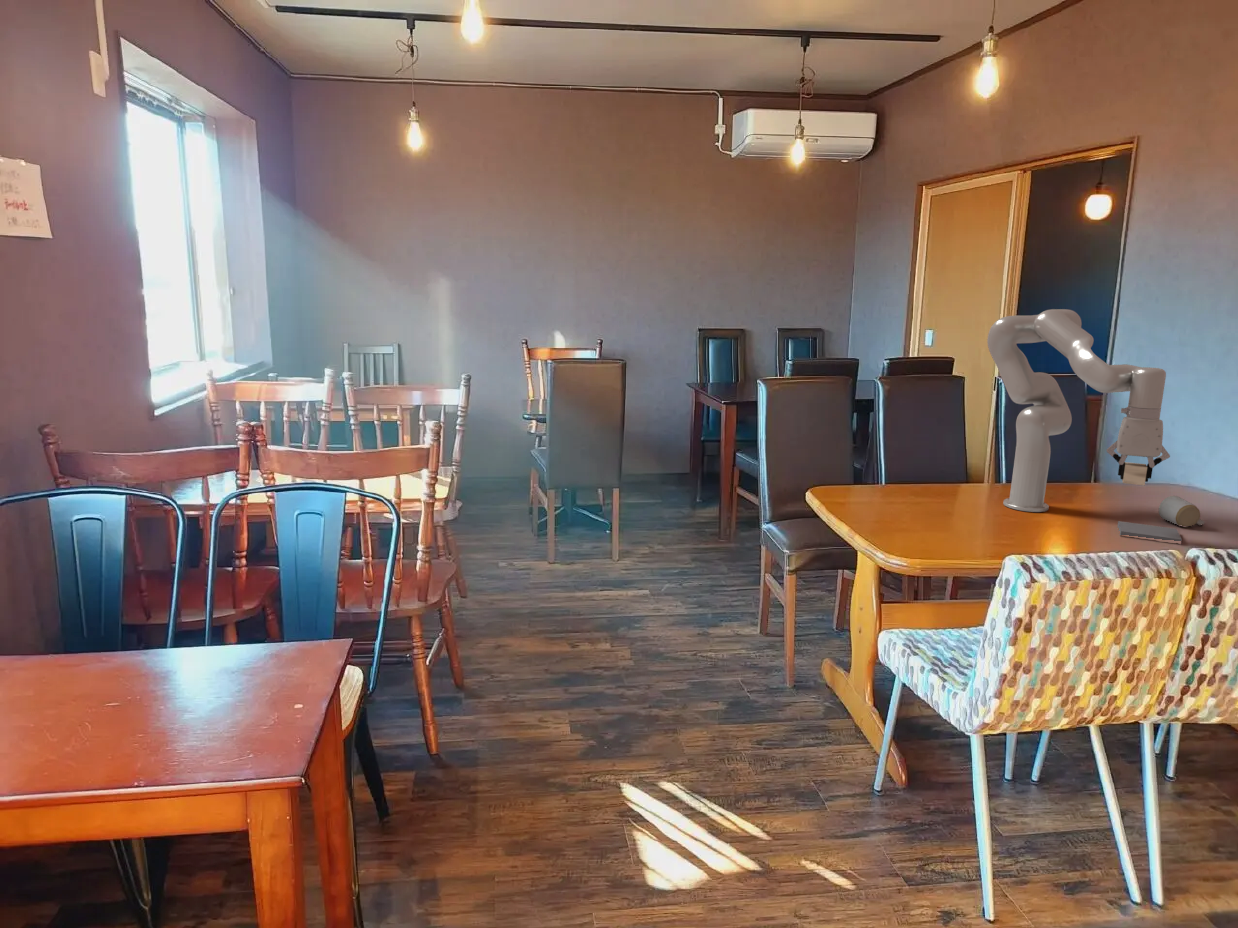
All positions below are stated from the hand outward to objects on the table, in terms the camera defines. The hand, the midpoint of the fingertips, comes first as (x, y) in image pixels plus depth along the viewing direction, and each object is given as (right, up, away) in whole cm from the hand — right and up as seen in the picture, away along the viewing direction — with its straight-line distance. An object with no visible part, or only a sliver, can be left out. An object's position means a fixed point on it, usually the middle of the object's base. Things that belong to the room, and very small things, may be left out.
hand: (1133, 478), depth 222 cm
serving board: (+6, -16, +3) cm, 17 cm away
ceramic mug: (+23, -14, +14) cm, 30 cm away
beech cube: (0, -1, 0) cm, 1 cm away
